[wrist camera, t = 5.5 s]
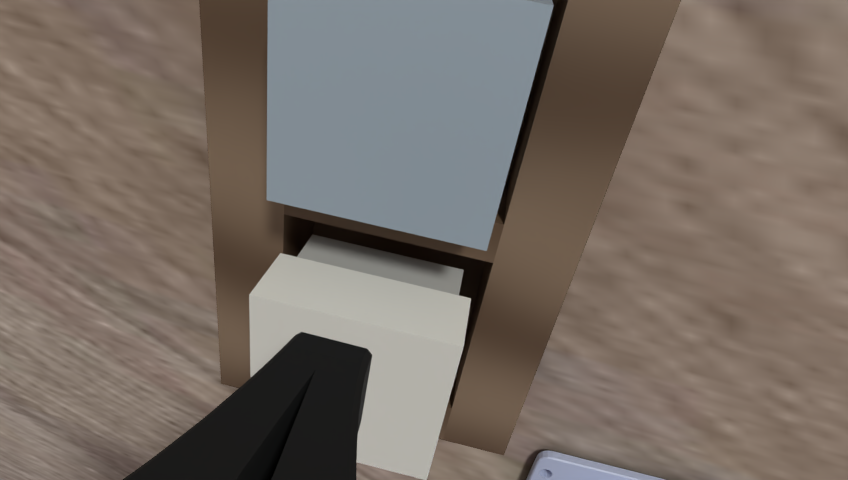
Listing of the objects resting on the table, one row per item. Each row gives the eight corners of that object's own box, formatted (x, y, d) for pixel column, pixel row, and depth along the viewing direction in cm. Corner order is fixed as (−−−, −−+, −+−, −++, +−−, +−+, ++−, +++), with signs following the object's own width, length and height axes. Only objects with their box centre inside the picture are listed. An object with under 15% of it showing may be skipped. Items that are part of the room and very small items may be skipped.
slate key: (495, 185, 14) (486, 251, 12) (317, 145, 15) (266, 200, 12) (547, -15, 12) (553, 5, 9) (330, -59, 12) (268, -53, 9)
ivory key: (443, 387, 17) (426, 480, 15) (296, 351, 18) (251, 435, 15) (476, 263, 15) (463, 346, 12) (302, 222, 15) (249, 294, 12)
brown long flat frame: (506, 389, 21) (503, 454, 18) (258, 327, 21) (221, 383, 19) (867, -623, 8) (1015, -861, 6) (254, -703, 9) (144, -951, 6)
